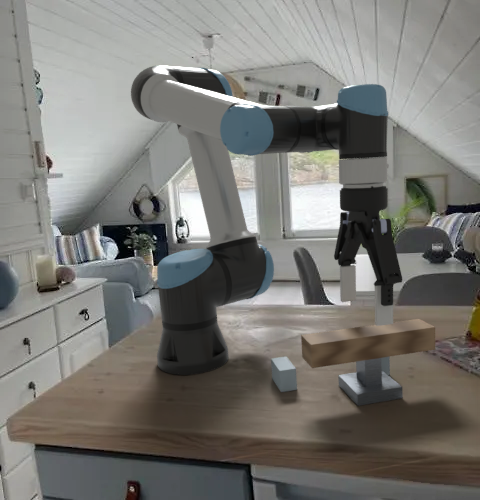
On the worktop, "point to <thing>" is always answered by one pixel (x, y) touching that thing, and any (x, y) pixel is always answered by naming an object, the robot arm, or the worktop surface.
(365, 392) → the fulcrum
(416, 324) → the plank
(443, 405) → the worktop surface
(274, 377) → the posts
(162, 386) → the worktop surface
